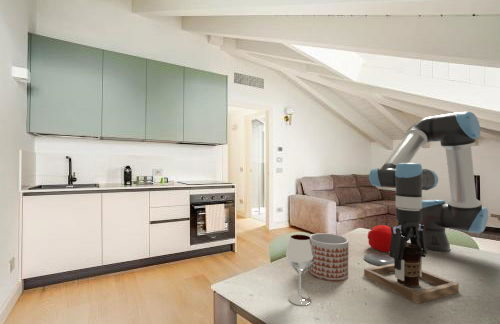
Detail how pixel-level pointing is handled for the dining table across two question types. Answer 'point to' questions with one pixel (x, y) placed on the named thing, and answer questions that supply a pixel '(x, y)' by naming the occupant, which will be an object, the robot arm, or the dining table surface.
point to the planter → (329, 257)
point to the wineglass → (300, 263)
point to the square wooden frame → (418, 297)
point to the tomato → (380, 238)
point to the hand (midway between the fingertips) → (408, 276)
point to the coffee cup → (411, 265)
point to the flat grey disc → (379, 259)
